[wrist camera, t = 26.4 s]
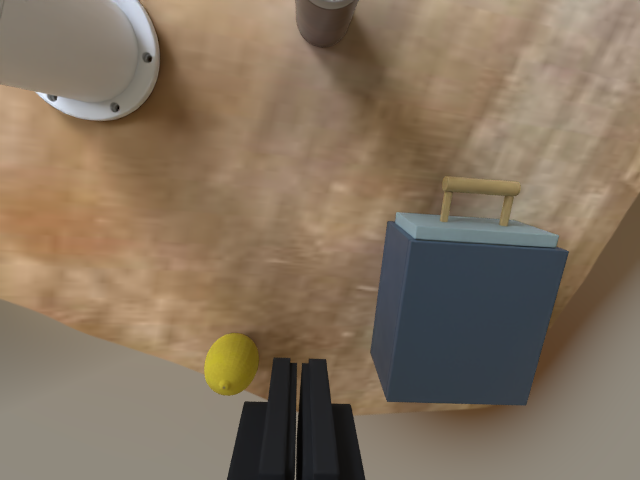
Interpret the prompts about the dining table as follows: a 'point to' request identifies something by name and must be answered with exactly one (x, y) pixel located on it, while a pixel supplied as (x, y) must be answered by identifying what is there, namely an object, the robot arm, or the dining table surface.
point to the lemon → (231, 364)
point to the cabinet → (462, 319)
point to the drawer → (475, 219)
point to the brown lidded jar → (324, 20)
